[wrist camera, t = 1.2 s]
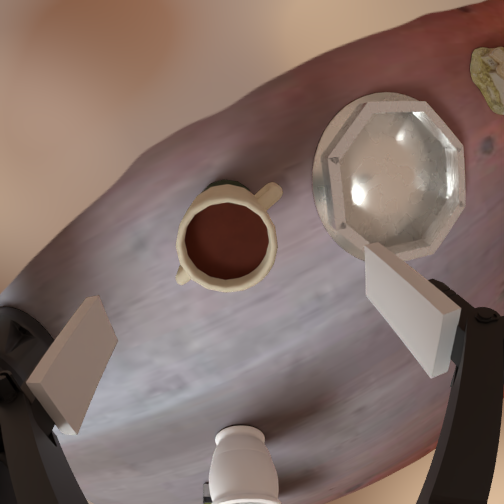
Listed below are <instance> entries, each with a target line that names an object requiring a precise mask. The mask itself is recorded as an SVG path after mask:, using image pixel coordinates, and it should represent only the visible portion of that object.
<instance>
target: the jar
mask: <svg viewBox="0 0 504 504" xmlns="http://www.w3.org/2000/svg"><path fill="white" fill-rule="evenodd" d="M215 442H216V444H217V447H216V449H215V451H214V453H213V457H212V463H211V467H210V472H209V489H210V495H211V499H212V501H213V502H212V503H211V504H282V503H281V501H280V500H279V499H278V492H279V485H278V476H277V472H276V469H275V466H274V464H273V462H272V458H271V455H270V453H269V451H268V449H267V447H266V446H265V444H264V442H265V436H264V434H263V433H262V432H261V431H260V430H258V429H256V428H254V427H251V426H244V425H238V426H231V427H228V428H225V429H223V430H221V431H220V432H219V433H218V434H217V436H216V438H215Z"/></svg>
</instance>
